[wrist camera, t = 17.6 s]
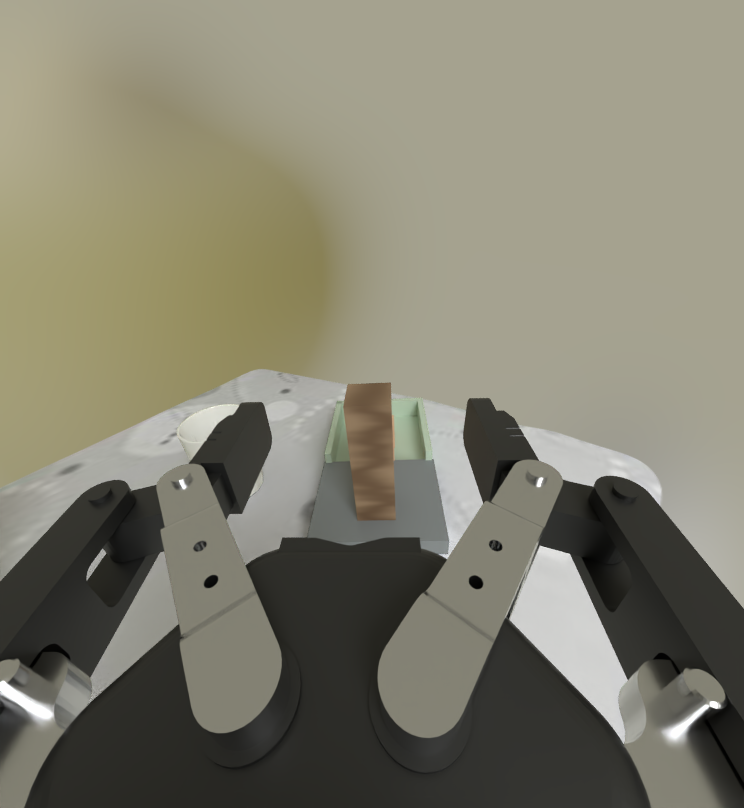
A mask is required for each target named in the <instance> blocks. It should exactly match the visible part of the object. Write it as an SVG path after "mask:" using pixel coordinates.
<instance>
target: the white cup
mask: <svg viewBox="0 0 744 808" xmlns="http://www.w3.org/2000/svg"><path fill="white" fill-rule="evenodd" d="M238 407H239V405H235V404H224V405H217V406H213V407H209V408H206V409H203V410H201V411H198V412H196V413H194V414H193V415H191V416H189V417H188V418H186V419H185V420H184V421H183V422H182V423H181V424H180V425H179V427H178V429H177V436H178V438H179V440H180V442H181V444H182V446H183V448H184V450H185V452H186V454H187V456H188V457H189V459H190V461H191V460H192V458H193V457H194V456H195V454H196V453H197V452H198V450H199V449H200V447H201V446H202V445H203V443H204V442H205V441H207V438H208V436H209V435H210V433H212V431H213V429H214V428H215V427H216V425H217V424H218V423H219V422H220V421H222V420H223V419H224V418H226V417H227V416H228V415H233V414H234V413H235V411H236V410H237V408H238ZM262 483H263V472H262V469H261V472H260V474H259V476H258V478H257V481H256V483H255V485H254V487H253V490H252V492H251V494H250V496H251V495H253V494H254V493H255V492H256V491H258V490H259V488H260V486H261V484H262Z"/></svg>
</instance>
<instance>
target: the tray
mask: <svg viewBox="0 0 744 808" xmlns="http://www.w3.org/2000/svg"><path fill="white" fill-rule="evenodd" d="M391 404H392V415H394V431H395V448H394V457H395V460H416V459H426V460H432V446H431V441H430V436H429V431H428V426H427V420H426V415H425V410H424V405H423V400H422V398H406V399H391ZM343 405H344V401H337V404H336V408H335V412H334V416H333V421H332V425H331V429H330V433H329V437H328V441H327V445H326V449H325V460H326V463H332V462H340V461H350V457H349V449H348V441H347V433H346V425H345V417H344V409H343Z"/></svg>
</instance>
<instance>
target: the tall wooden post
mask: <svg viewBox="0 0 744 808" xmlns="http://www.w3.org/2000/svg"><path fill="white" fill-rule="evenodd" d="M343 409H344V417H345V425H346V433H347V441H348V449H349V457H350V465H351V473H352V481H353V489H354V497H355V505H356V513H357V521H372V520H396V511H395V483H394V456H393V430H392V404H391V383H369V384H348V386H347V391H346V395H345V400H344V405H343Z"/></svg>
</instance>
